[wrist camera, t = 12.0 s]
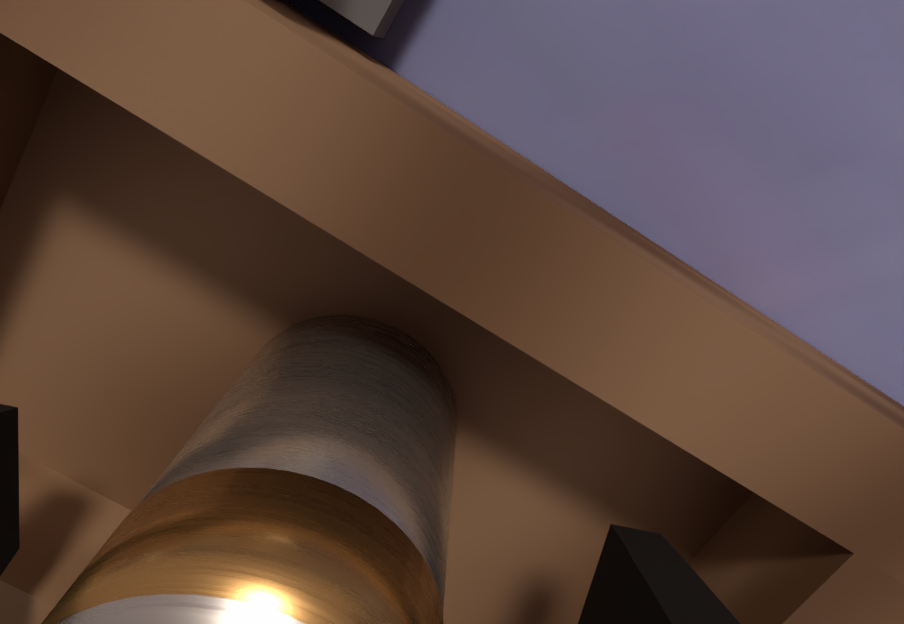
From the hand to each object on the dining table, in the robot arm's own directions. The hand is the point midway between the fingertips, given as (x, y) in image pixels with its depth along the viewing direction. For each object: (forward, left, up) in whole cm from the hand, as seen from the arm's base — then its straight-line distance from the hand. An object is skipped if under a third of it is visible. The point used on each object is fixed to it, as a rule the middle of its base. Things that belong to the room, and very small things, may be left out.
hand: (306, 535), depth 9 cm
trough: (0, 0, -3) cm, 3 cm away
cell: (0, 0, -3) cm, 3 cm away
